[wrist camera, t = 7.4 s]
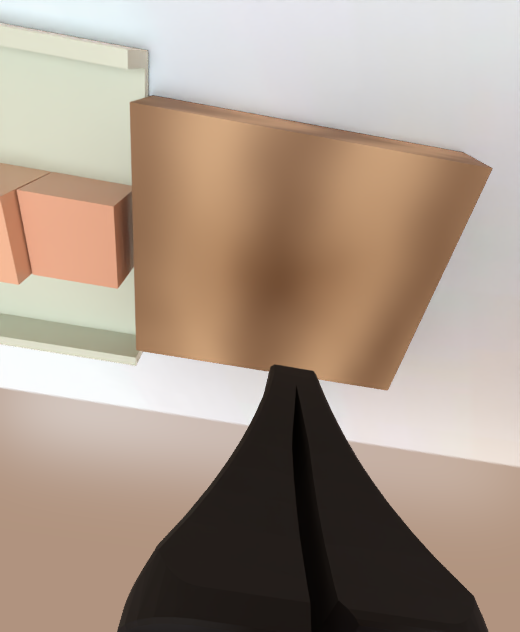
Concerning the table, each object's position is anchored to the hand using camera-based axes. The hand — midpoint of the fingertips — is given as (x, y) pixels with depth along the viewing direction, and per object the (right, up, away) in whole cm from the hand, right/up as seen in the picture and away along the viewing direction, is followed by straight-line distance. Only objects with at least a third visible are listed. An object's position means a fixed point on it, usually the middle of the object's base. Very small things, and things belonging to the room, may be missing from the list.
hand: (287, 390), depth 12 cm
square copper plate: (0, +6, +8) cm, 10 cm away
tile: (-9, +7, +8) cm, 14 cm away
